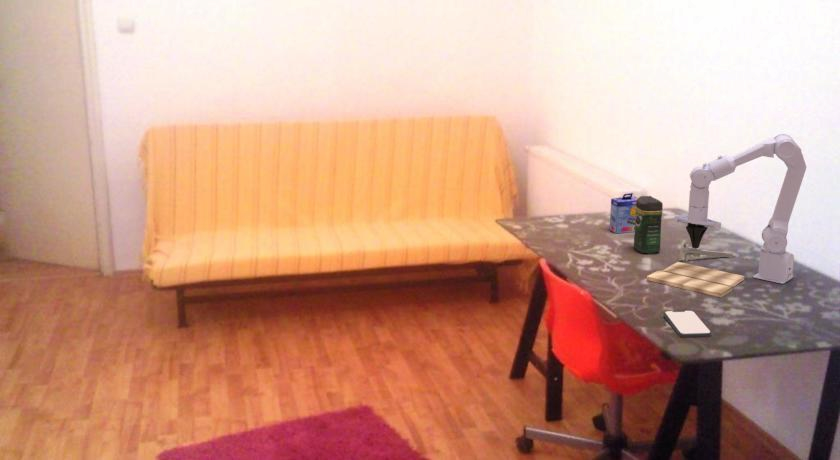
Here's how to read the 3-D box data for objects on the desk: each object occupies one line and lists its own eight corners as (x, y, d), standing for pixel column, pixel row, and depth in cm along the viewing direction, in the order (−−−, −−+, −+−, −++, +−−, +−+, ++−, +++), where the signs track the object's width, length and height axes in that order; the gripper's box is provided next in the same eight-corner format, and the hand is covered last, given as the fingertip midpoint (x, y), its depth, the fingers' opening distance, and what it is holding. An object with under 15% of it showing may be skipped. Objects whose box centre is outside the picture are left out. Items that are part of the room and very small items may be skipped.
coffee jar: (663, 253, 300) (666, 200, 294) (640, 255, 299) (643, 201, 294) (652, 245, 309) (655, 193, 304) (630, 246, 308) (633, 194, 303)
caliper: (680, 263, 291) (681, 244, 289) (678, 262, 292) (680, 243, 290) (736, 257, 295) (737, 239, 294) (734, 256, 296) (736, 238, 295)
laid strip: (732, 290, 265) (732, 286, 264) (720, 297, 259) (721, 293, 259) (659, 273, 280) (659, 269, 280) (646, 280, 275) (646, 276, 274)
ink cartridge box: (616, 234, 323) (617, 195, 319) (608, 230, 328) (610, 192, 324) (640, 231, 326) (642, 193, 322) (632, 227, 331) (634, 189, 327)
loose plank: (744, 279, 273) (744, 275, 272) (729, 289, 266) (730, 285, 265) (677, 265, 287) (677, 261, 287) (662, 273, 280) (662, 270, 280)
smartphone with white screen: (713, 339, 232) (693, 315, 247) (713, 333, 231) (693, 309, 247) (679, 340, 232) (661, 316, 247) (680, 334, 231) (662, 310, 246)
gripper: (726, 206, 272) (723, 248, 276) (682, 199, 282) (680, 240, 286) (716, 211, 267) (713, 254, 271) (672, 203, 277) (669, 245, 281)
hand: (695, 247), depth 278 cm, fingers closed
